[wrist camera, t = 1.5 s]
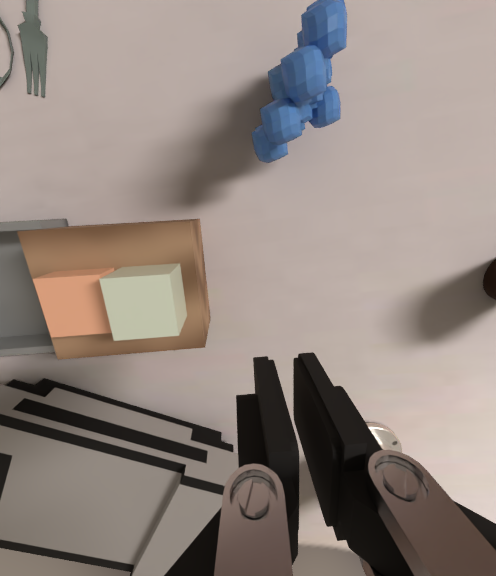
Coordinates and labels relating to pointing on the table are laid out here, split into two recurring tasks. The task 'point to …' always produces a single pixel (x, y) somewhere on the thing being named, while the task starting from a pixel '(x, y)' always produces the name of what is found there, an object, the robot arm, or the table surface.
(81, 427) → the game console
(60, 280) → the terracotta block
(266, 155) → the grapes
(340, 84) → the table surface
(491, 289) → the coffee mug
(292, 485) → the robot arm
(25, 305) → the bin
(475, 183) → the table surface
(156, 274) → the sage block
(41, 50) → the cutlery set
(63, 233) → the brown box
